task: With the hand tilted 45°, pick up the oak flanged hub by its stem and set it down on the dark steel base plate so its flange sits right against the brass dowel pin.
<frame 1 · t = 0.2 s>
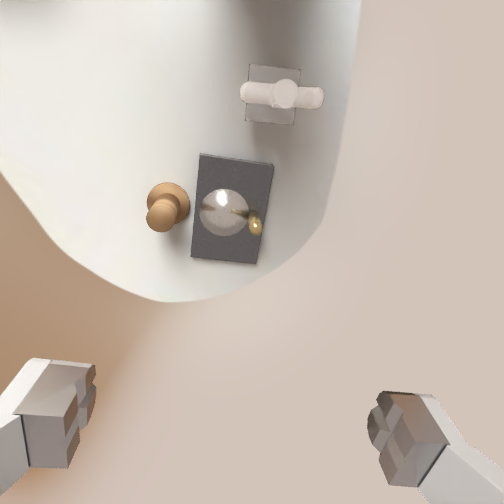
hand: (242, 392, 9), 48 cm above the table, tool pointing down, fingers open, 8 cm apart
dowel: (252, 214, 57), resting on base plate
base plate: (230, 211, 57), on the table
figurine: (268, 96, 49), on the table
flange hub: (169, 203, 55), on the table
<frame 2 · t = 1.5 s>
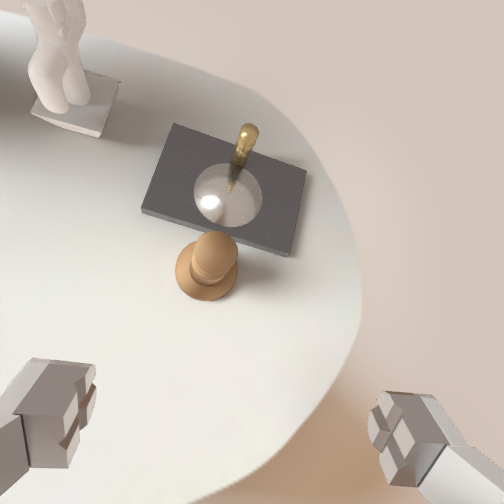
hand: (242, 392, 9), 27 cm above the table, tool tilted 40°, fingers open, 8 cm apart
dowel: (236, 166, 42), resting on base plate
base plate: (228, 193, 41), on the table
figurine: (85, 119, 39), on the table
flange hub: (206, 270, 38), on the table
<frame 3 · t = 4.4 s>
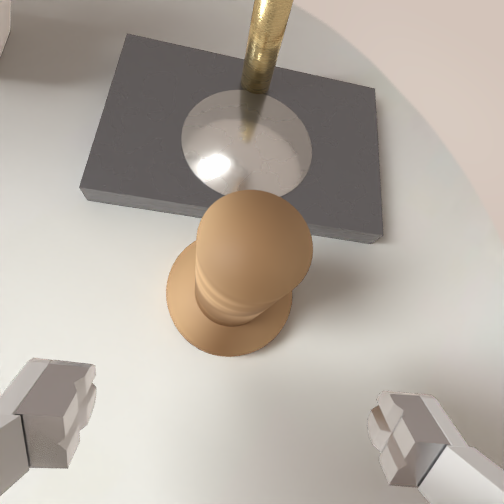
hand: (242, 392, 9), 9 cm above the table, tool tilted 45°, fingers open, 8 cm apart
dowel: (251, 100, 24), resting on base plate
base plate: (246, 145, 22), on the table
flange hub: (229, 293, 19), on the table
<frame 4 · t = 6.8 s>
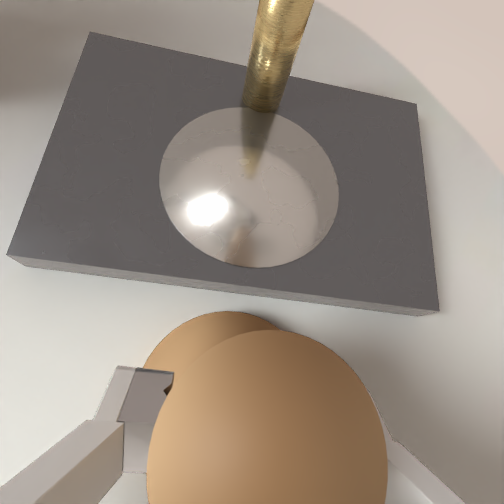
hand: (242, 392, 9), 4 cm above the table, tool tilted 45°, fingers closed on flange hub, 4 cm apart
dowel: (256, 119, 18), resting on base plate
base plate: (249, 180, 17), on the table
flange hub: (225, 401, 13), on the table, touching gripper
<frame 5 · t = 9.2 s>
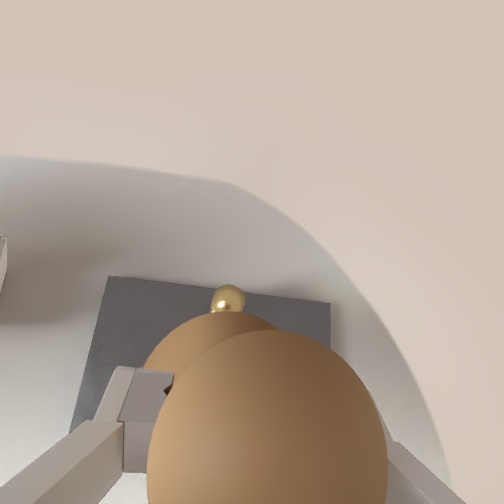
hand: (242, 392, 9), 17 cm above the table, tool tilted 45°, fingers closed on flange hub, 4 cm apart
dowel: (219, 317, 27), resting on base plate
base plate: (213, 368, 25), on the table
flange hub: (225, 400, 13), point 13 cm above the table, touching gripper
when the fingers open (8 cm above the table, at t = 11.7 s): flange hub drops 1 cm, resting on base plate.
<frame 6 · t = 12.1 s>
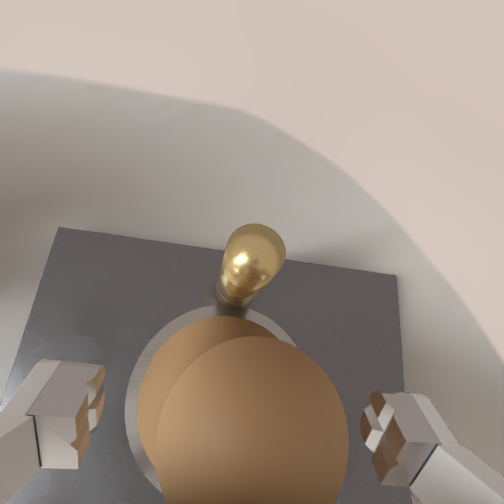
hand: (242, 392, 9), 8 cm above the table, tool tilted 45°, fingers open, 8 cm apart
dowel: (231, 295, 18), resting on base plate
base plate: (222, 373, 16), on the table
flange hub: (222, 397, 15), point 2 cm above the table, touching base plate
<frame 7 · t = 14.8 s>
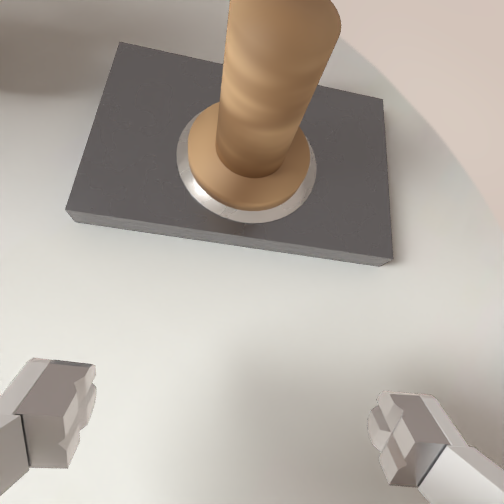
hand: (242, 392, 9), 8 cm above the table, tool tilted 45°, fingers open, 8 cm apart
base plate: (246, 160, 21), on the table
flange hub: (248, 157, 19), point 2 cm above the table, touching base plate
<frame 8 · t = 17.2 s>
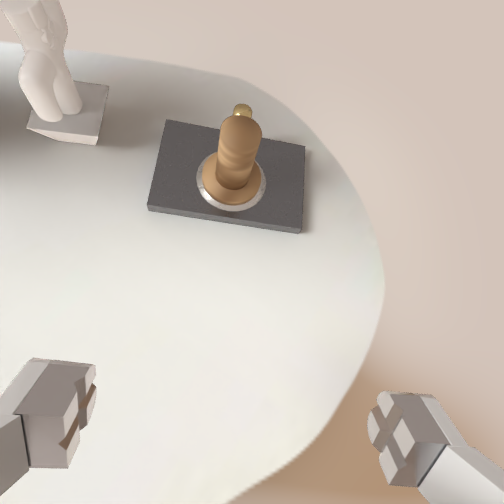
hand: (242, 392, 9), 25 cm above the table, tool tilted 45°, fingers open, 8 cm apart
dowel: (234, 153, 42), resting on base plate
base plate: (231, 179, 41), on the table
figurine: (80, 129, 40), on the table
flange hub: (231, 179, 39), point 2 cm above the table, touching base plate
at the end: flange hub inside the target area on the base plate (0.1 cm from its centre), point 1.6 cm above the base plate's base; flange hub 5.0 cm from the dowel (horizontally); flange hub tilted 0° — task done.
